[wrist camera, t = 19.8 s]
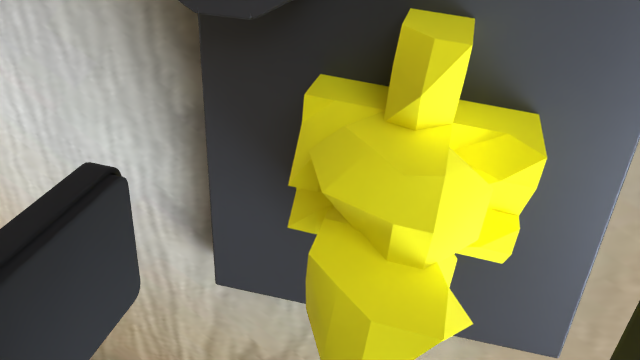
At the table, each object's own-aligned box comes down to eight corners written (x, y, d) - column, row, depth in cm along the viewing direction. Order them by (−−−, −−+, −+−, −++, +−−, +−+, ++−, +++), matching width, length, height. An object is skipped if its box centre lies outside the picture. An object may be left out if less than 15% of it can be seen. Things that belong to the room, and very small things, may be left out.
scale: (159, -245, 14) (87, -267, 12) (752, -234, 11) (826, -261, 9) (199, 255, 22) (162, 306, 20) (554, 329, 19) (564, 399, 17)
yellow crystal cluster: (565, 33, 13) (636, 197, 7) (483, 285, 18) (479, 538, 11) (328, -6, 14) (195, 108, 8) (303, 242, 19) (202, 450, 12)
